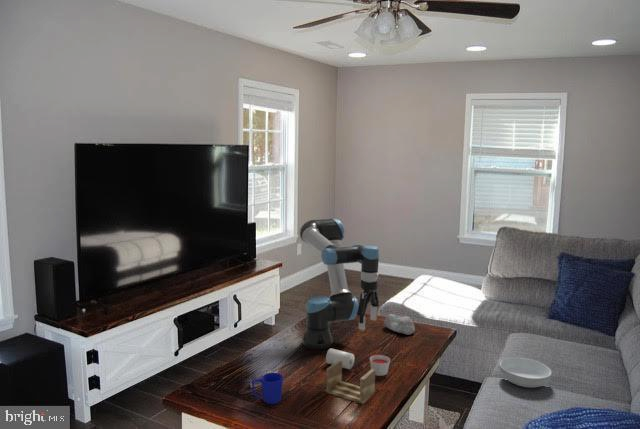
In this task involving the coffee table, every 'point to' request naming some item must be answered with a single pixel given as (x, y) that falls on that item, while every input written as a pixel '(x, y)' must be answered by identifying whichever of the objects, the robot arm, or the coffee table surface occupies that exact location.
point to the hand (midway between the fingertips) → (367, 324)
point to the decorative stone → (400, 324)
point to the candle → (380, 364)
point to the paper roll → (340, 358)
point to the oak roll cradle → (346, 389)
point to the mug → (270, 387)
